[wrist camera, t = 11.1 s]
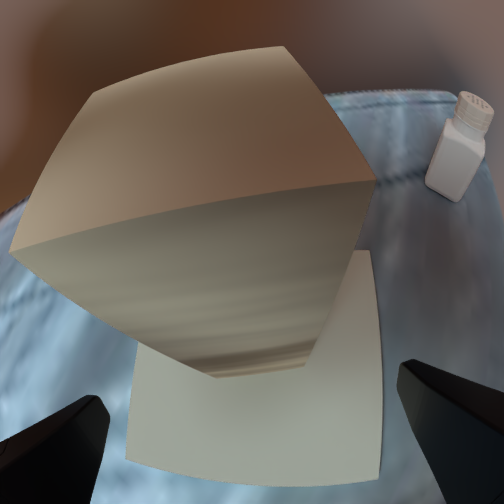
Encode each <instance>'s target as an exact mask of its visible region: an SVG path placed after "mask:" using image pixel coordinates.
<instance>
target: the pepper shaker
mask: <svg viewBox="0 0 504 504" xmlns="http://www.w3.org/2000/svg"><path fill="white" fill-rule="evenodd" d="M456 104H457V105H456V107H455V110H454V112H455V114H454V117H453V119H448V118H447V119H446V121H445V124H444V127H443V130H442V133H441V135H440V138H439V141H438V144H437V146H436V149H435V152H434V154H433V157H432V159H431V162H430V165H429V168H428V171H427V173H426V176H425V184H426V185H427V186H428V187H429V188H431V189H432V190H434V191H436V192H438V193H439V194H441V195H443V196H444V197H446V198H448V199H449V200H451V201H453V202H456V203H457V202H458V201H460V200H461V198H462V197H463V195H464V193H465V191H466V190H467V188H468V186H469V184H470V183H471V181H472V179H473V177H474V175H475V173H476V171H477V169H478V168H479V166H480V164H481V162H482V160H483V158H484V154H485V141H484V139H483V137H484V135H485V132H487V131H488V127H489V125H490V122H491V120H492V118H493V115H494V111H493V109H492V107H491V106H490V105H489V104H487V103H486V102H485V101H484V100H482V99H481V98H479V97H478V96H476V95H473V94H472V93H470V92H465V91H462V92H460V93H459V97H458V101H457V103H456Z"/></svg>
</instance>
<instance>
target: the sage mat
mask: <svg viewBox="0 0 504 504" xmlns="http://www.w3.org/2000/svg"><path fill="white" fill-rule="evenodd" d="M382 407H383V392H382V359H381V342H380V329H379V318H378V308H377V299H376V291H375V284H374V276H373V270H372V263H371V257H370V251H369V250H354V251H353V254H352V257H351V259H350V262H349V265H348V267H347V270H346V272H345V275H344V278H343V280H342V283H341V285H340V288H339V290H338V293H337V295H336V297H335V300H334V302H333V305H332V307H331V309H330V312H329V314H328V316H327V318H326V321H325V323H324V325H323V328H322V330H321V332H320V334H319V336H318V338H317V341H316V343H315V345H314V347H313V349H312V351H311V353H310V355H309V358H308V360H307V362H306V364H305V366H304V367H301V368H295V369H290V370H283V371H277V372H270V373H263V374H256V375H248V376H239V377H229V378H218V379H216V378H214V377H211V376H209V375H207V374H204V373H202V372H200V371H198V370H195V369H193V368H191V367H189V366H187V365H184V364H182V363H180V362H178V361H176V360H174V359H172V358H170V357H168V356H166V355H164V354H162V353H160V352H158V351H156V350H154V349H152V348H150V347H148V346H146V345H144V344H142V343H140V342H139V343H138V349H137V355H136V361H135V368H134V375H133V382H132V390H131V398H130V407H129V417H128V428H127V441H126V459H127V460H130V461H133V462H136V463H139V464H142V465H146V466H149V467H153V468H156V469H160V470H164V471H168V472H172V473H176V474H180V475H185V476H190V477H195V478H200V479H206V480H212V481H219V482H226V483H235V484H245V485H257V486H279V487H304V486H326V485H338V484H348V483H356V482H363V481H370V480H376V479H378V476H379V466H380V455H381V439H382Z"/></svg>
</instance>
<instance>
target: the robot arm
mask: <svg viewBox="0 0 504 504" xmlns="http://www.w3.org/2000/svg"><path fill="white" fill-rule="evenodd" d="M397 391H398V394H399V397H400V399H401V402H402V404H403V407H404V410H405V412H406V415H407V418H408V421H409V423H410V426H411V429H412V431H413V433H414V435H415V437H416V439H417V441H418V443H419V445H420V447H421V449H422V451H423V453H424V456H425V458H426V460H427V462H428V464H429V466H430V468H431V470H432V472H433V474H434V476H435V479H436V481H437V483H438V485H439V487H440V490H441V492H442V494H443V496H444V499H445V501H446V503H447V504H504V392H501V391H498V390H495V389H492V388H489V387H486V386H484V385H481V384H478V383H475V382H473V381H470V380H467V379H464V378H462V377H459V376H456V375H454V374H451V373H449V372H446V371H443V370H441V369H438V368H436V367H433V366H430V365H428V364H425V363H423V362H420V361H418V360H415V359H411V360H408V361H405V362H402V363H401V364H400V366H399V372H398V378H397ZM109 424H110V415H109V412H108V411H107V409H106V407H105V406H104V404H103V402H102V400H101V399H100V397H98V396H96V395H86V396H84V397H82V398H80V399H79V400H77V401H75V402H73V403H72V404H70V405H68V406H66V407H65V408H63V409H61V410H59V411H57V412H56V413H54V414H52V415H50V416H49V417H47V418H45V419H43V420H41V421H39V422H38V423H36V424H34V425H32V426H30V427H28V428H26V429H25V430H23V431H21V432H19V433H17V434H15V435H13V436H11V437H10V438H7V439H5V440H4V441H2V442H0V504H90V501H91V497H92V493H93V490H94V486H95V482H96V479H97V475H98V472H99V468H100V465H101V462H102V458H103V453H104V448H105V443H106V438H107V433H108V429H109Z"/></svg>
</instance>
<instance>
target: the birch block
mask: <svg viewBox="0 0 504 504" xmlns="http://www.w3.org/2000/svg"><path fill="white" fill-rule="evenodd" d="M376 181H377V179H376V177H375V175H374V173H373V172H372V170H371V168H370V166H369V165H368V163H367V161H366V160H365V158H364V156H363V154H362V153H361V151H360V150H359V148H358V146H357V145H356V143H355V141H354V140H353V138H352V137H351V135H350V134H349V132H348V131H347V129H346V127H345V126H344V124H343V123H342V121H341V120H340V119H339V117H338V116H337V114H336V113H335V111H334V110H333V108H332V107H331V106H330V104H329V103H328V101H327V100H326V99H325V97H324V96H323V95H322V93H321V92H320V91H319V89H318V88H317V87H316V85H315V84H314V83H313V81H312V80H311V79H310V78H309V76H308V75H307V74H306V73H305V71H304V70H303V69H302V68H301V66H300V65H299V64H298V63H297V62H296V60H295V59H294V58H293V57H292V56H291V55H290V53H289V52H288V51H287V50H286V49H285V48H284V47H283V46H281V47H269V48H259V49H251V50H244V51H237V52H230V53H224V54H219V55H213V56H208V57H203V58H199V59H194V60H190V61H186V62H182V63H178V64H174V65H170V66H167V67H163V68H160V69H157V70H153V71H150V72H147V73H144V74H141V75H138V76H135V77H132V78H129V79H126V80H124V81H121V82H118V83H116V84H113V85H110V86H108V87H106V88H103V89H101V90H98V91H96V92H94V93H93V94H92V95H91V97H90V98H89V99H88V100H87V102H86V103H85V105H84V106H83V108H82V109H81V110H80V112H79V113H78V114H77V116H76V118H75V119H74V120H73V122H72V123H71V125H70V126H69V128H68V129H67V131H66V132H65V134H64V136H63V137H62V139H61V140H60V142H59V144H58V145H57V147H56V149H55V150H54V152H53V154H52V156H51V157H50V159H49V161H48V163H47V164H46V166H45V168H44V170H43V172H42V174H41V176H40V178H39V180H38V182H37V184H36V186H35V188H34V190H33V192H32V194H31V196H30V199H29V201H28V203H27V205H26V208H25V210H24V212H23V215H22V217H21V220H20V222H19V225H18V227H17V230H16V233H15V235H14V238H13V241H12V244H11V247H10V250H9V253H10V254H11V255H12V256H13V257H14V258H15V259H17V260H18V261H19V262H20V263H21V264H23V265H24V266H25V267H26V268H28V269H29V270H30V271H31V272H33V273H34V274H35V275H37V276H38V277H39V278H40V279H42V280H43V281H44V282H46V283H47V284H48V285H50V286H51V287H53V288H54V289H55V290H57V291H58V292H60V293H61V294H62V295H64V296H65V297H67V298H68V299H70V300H71V301H73V302H74V303H76V304H77V305H79V306H80V307H82V308H83V309H85V310H86V311H88V312H89V313H91V314H92V315H94V316H96V317H97V318H99V319H100V320H102V321H104V322H105V323H107V324H109V325H110V326H112V327H114V328H115V329H117V330H119V331H121V332H122V333H124V334H126V335H128V336H129V337H131V338H133V339H135V340H137V341H139V342H140V343H142V344H144V345H146V346H148V347H150V348H152V349H154V350H156V351H158V352H160V353H162V354H164V355H166V356H168V357H170V358H172V359H174V360H176V361H178V362H180V363H182V364H184V365H187V366H189V367H191V368H193V369H195V370H198V371H200V372H202V373H204V374H207V375H209V376H211V377H214V378H216V379H218V378H229V377H239V376H248V375H256V374H263V373H270V372H277V371H283V370H290V369H295V368H301V367H304V366H305V364H306V362H307V360H308V358H309V355H310V353H311V351H312V349H313V347H314V345H315V343H316V341H317V338H318V336H319V334H320V332H321V330H322V328H323V325H324V323H325V321H326V318H327V316H328V314H329V312H330V309H331V307H332V305H333V302H334V300H335V297H336V295H337V293H338V290H339V288H340V285H341V283H342V280H343V278H344V275H345V272H346V270H347V267H348V265H349V262H350V259H351V257H352V254H353V251H354V248H355V246H356V243H357V240H358V237H359V234H360V231H361V228H362V225H363V223H364V220H365V216H366V213H367V210H368V207H369V204H370V201H371V198H372V194H373V191H374V188H375V184H376Z"/></svg>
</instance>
